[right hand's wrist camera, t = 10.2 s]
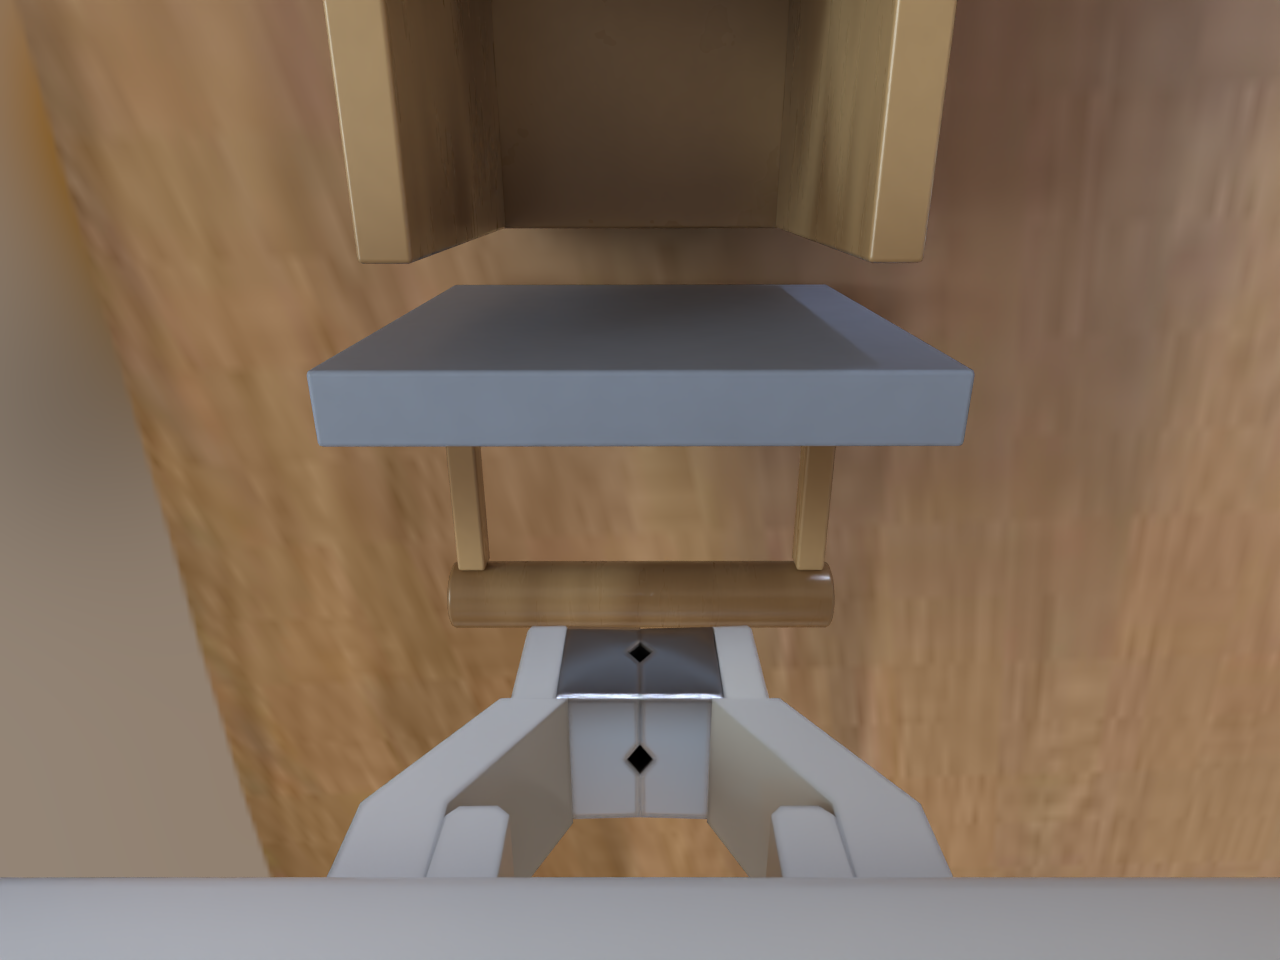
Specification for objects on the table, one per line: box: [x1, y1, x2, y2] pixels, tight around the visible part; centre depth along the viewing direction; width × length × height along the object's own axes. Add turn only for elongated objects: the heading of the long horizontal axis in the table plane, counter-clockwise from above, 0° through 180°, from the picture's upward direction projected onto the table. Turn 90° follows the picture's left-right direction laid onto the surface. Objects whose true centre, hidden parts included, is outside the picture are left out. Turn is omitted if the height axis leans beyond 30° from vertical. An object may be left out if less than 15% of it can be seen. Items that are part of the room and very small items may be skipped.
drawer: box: [307, 0, 974, 628], centre depth 14 cm, size 21×10×10 cm, turn 0°
